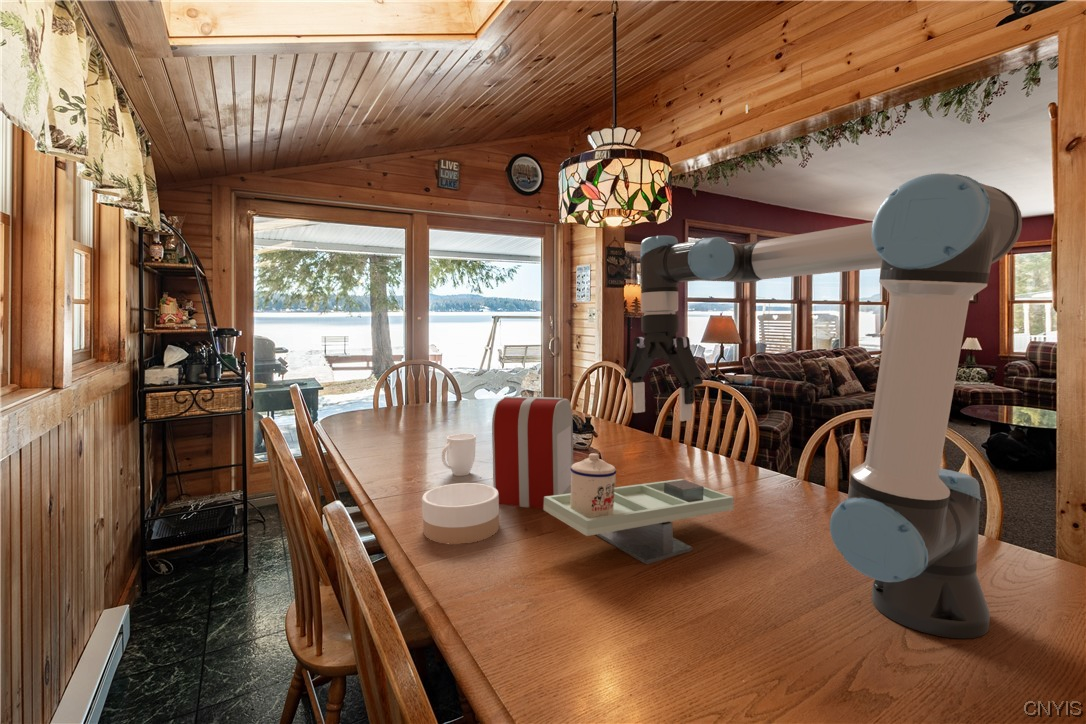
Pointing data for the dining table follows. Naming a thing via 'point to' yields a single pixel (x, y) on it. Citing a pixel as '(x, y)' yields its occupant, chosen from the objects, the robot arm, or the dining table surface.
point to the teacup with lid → (592, 487)
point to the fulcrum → (647, 542)
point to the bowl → (460, 513)
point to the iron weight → (684, 490)
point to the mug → (460, 453)
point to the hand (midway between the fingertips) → (661, 416)
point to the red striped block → (532, 449)
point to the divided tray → (638, 508)
